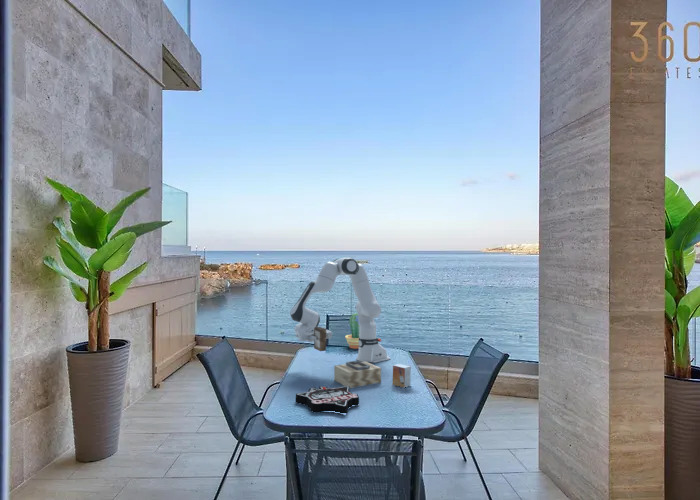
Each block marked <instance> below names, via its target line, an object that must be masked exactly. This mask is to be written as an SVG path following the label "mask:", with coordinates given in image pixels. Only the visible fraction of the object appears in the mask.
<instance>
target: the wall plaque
mask: <svg viewBox="0 0 700 500" xmlns="http://www.w3.org/2000/svg"><path fill="white" fill-rule="evenodd" d="M350 390H351V388H350V387H349V386H344V385H343V386H338V387H328V386H322V385H321V386H319V387H318V388H316V387H310V388H309V390H308V391H305V392H304V391H303V392H297V393H295V403H296V402H297V403H296V404H299V403H301V404H300V405H303V404H305V405H304V406H306V407H307V406H308V407H307V408H308V409H310V408H311V409H310V412H311V411H313V412H312V413H314V412H320V413H322V412H321V411H335V412H340V413H347V414H348V411H347V410H349V409H348V408H349V407H351V406H352V405H358V404H359V405H360V397H359V395H358V393H354V392H351V391H350ZM351 408H352V407H351Z"/></svg>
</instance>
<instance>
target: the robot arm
mask: <svg viewBox="0 0 700 500" xmlns="http://www.w3.org/2000/svg"><path fill="white" fill-rule="evenodd" d="M347 275H348V276H349V278H350V281H351V284H352V288H353V292H354V294H355V296H356V298H357V300H358V301H357V302H356V304H355V310H356V313H357V314H358V320H359V349H358V351H357V356H356V361H360V362H364V361H366V362H368V363H379V362H384V361H388V360H391V357H390V356H389V355H388V353H387V349H386V348H385V347H383V346H382V345H381V344H380V343H381V342H382V339H381V338H377V325H376V322H375V319H376V318H378V317H380V315H381V313H382V308H381V305H380V304H379V303H378V301H377V298H376V296H375V294H374V293H373V290H372V285H371V283H370V280H369V277H368V273H367V270H366V269H365V266H364V265H363V264H362V263H358V262H357V260H355V259H354V258H352V257H340V258H336V259H335V260H333V261H328V262H325V263H324V264H323V265H322V268H321V269H320V271H319V273H318V274H317V277H316V278H315V280H313V281H311V282H310V283H308V284H307V286H306V288H305V289H304V290H303V292H302V294H300V297H299V298H298V300H297V302H296V303H295V304H294V305H293V307H292V308H291V310H290V313H289V315H290V318H291V320H292V321H294V322H297V324H296V325H295V326H294V333H295V338H297V340H298V341H300V342H306V341H307V342H309V343H310V342H311V343H312V342H313V343H314V340H318V337H317V336H314V327H319V325H320V321H321V317H320V314H319V312H317V311H315V310H313V309H310V308H309V307H306V303H308V301H309V299H310V297H312V295H313V294H316V293H327V292H330V291H331V290H332V289H333V287H334V284H335V282H336V279H337V277H338V276H347ZM321 327H322V326H321ZM322 328H324V327H322ZM332 338H333V332H332V331H331V330H329V329H326V340H327V339H332ZM379 342H380V343H379Z"/></svg>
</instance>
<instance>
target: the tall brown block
mask: <svg viewBox="0 0 700 500" xmlns="http://www.w3.org/2000/svg"><path fill="white" fill-rule="evenodd" d="M326 330H327V328H325V327H323V328H322V326H318V327H314V336H317V337H318V340H314V341H313V348H314V350H316V351H319V352H324V351H325V352H326V351H327V339H326Z"/></svg>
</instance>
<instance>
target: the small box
mask: <svg viewBox="0 0 700 500" xmlns="http://www.w3.org/2000/svg"><path fill="white" fill-rule="evenodd" d="M411 369H412V367H411V366H410V365H405V364H402V363H397V364H394V365H392V386H397V387H399V386H400V387H399V388H402V387H404V388H403V389H406V388H408V386H409V387H410V386H411V382H412V381H411V377H412V374H411V371H412V370H411ZM405 387H406V388H405Z"/></svg>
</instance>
